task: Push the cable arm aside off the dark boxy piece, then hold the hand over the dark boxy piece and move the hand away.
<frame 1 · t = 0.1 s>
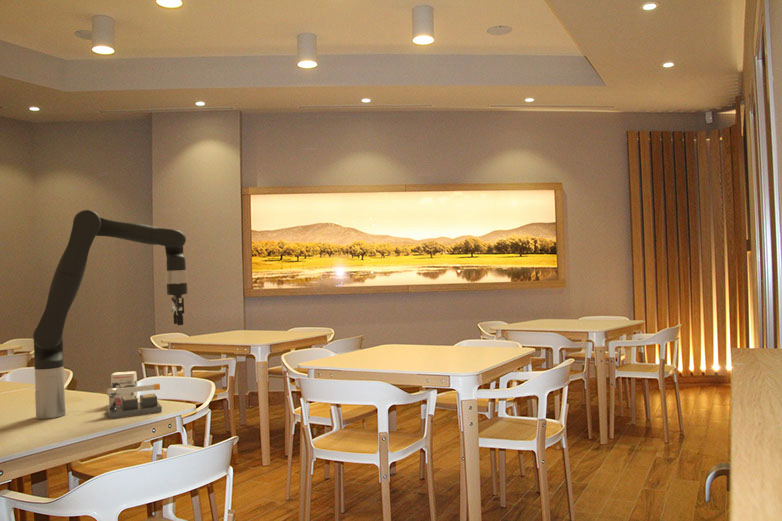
hand: (178, 324, 258), 29 cm above the table, fingers open, 8 cm apart
ink box: (124, 404, 256), on the table
cable arm: (133, 389, 238), point 8 cm above the table, hinge at 0.0°
dark boxy piece: (134, 411, 238), on the table
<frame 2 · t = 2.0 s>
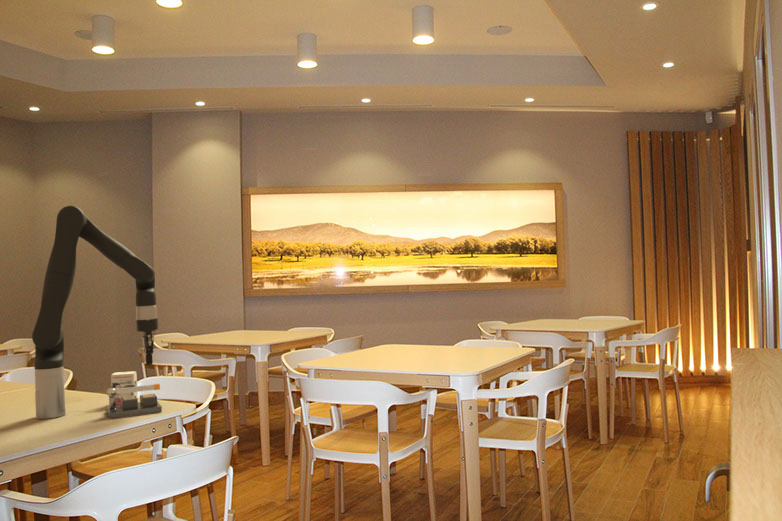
hand: (149, 364, 248), 15 cm above the table, fingers closed
nothing on the table moved.
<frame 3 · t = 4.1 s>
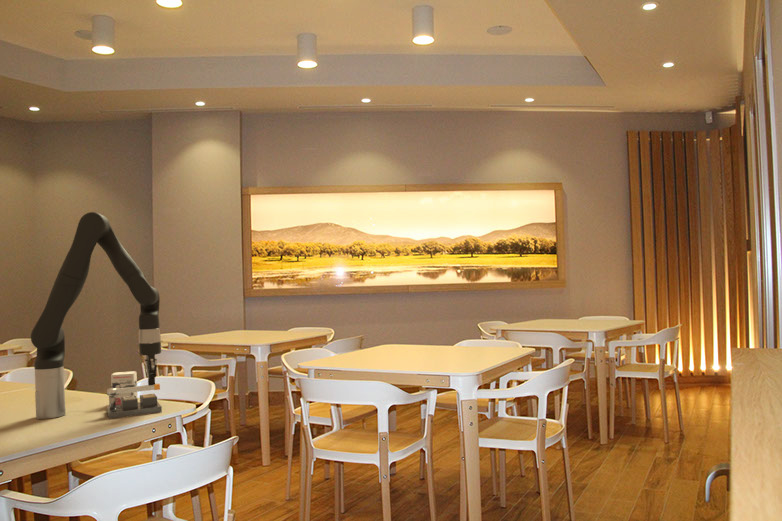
hand: (151, 388, 244), 7 cm above the table, fingers closed
cable arm: (133, 389, 238), point 8 cm above the table, hinge at -0.2°, touching gripper
everything else where it was.
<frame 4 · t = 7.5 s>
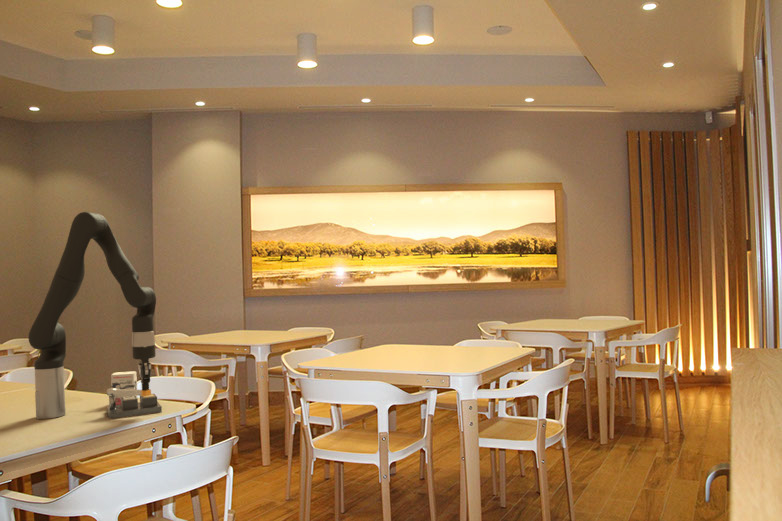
hand: (145, 394, 233), 7 cm above the table, fingers closed
cable arm: (128, 392, 233), point 8 cm above the table, hinge at -46.8°, touching gripper
everything else where it was.
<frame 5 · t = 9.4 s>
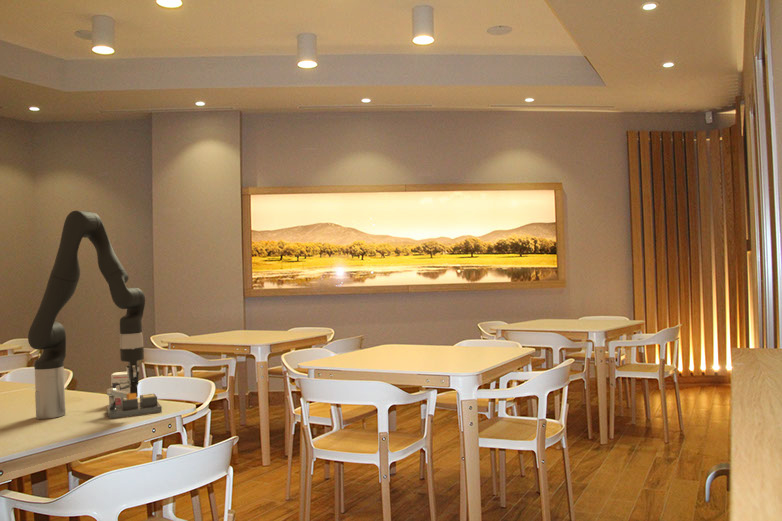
hand: (134, 397, 229), 7 cm above the table, fingers closed
cable arm: (121, 393, 230), point 8 cm above the table, hinge at -69.7°, touching gripper
everything else where it was.
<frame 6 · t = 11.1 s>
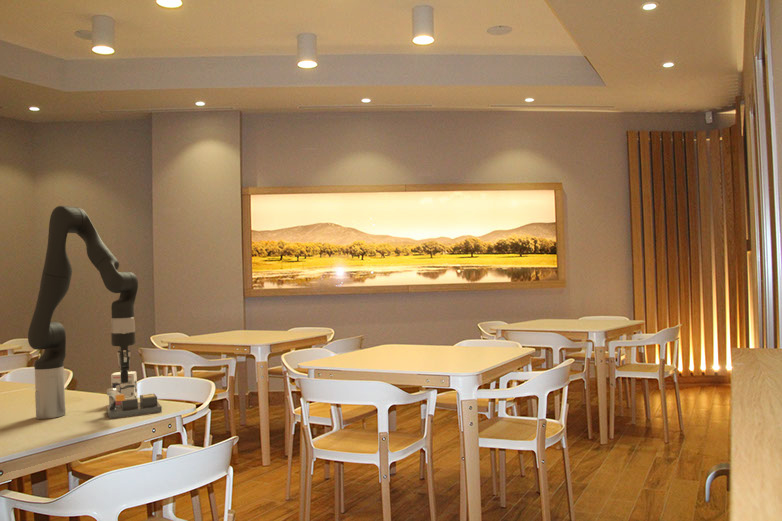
hand: (124, 382, 226), 13 cm above the table, fingers closed
cable arm: (115, 394, 229), point 8 cm above the table, hinge at -84.0°
everything else where it was.
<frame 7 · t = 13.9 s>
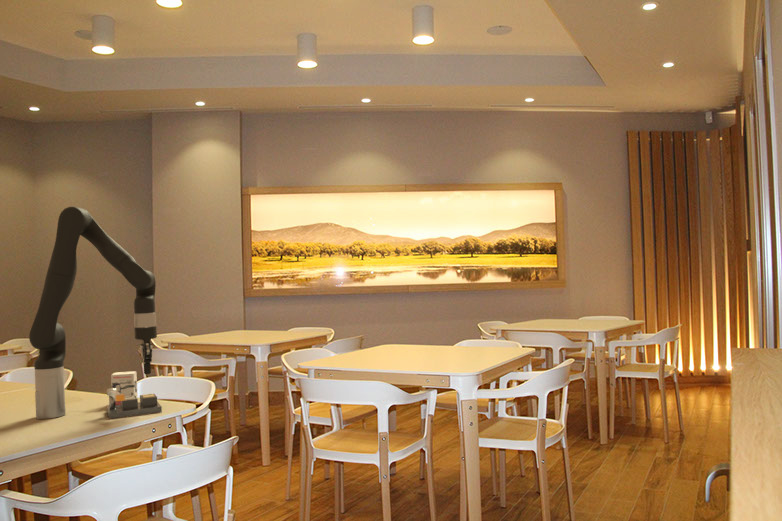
hand: (147, 373, 241), 13 cm above the table, fingers closed
nothing on the table moved.
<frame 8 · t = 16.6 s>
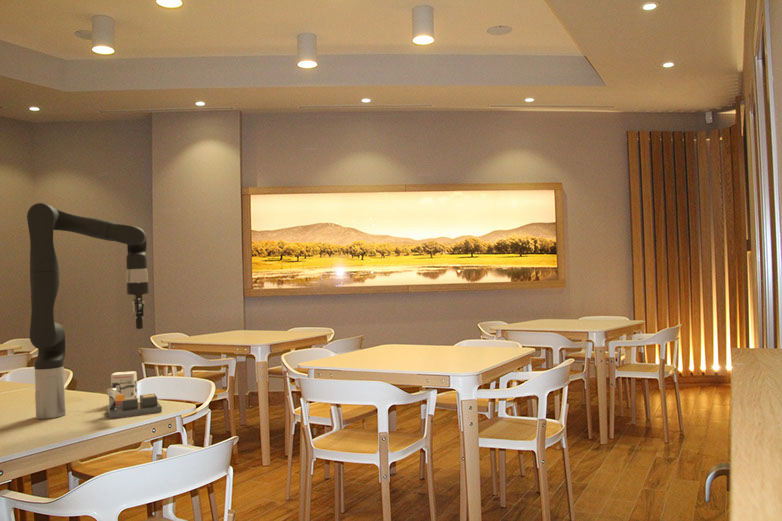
hand: (139, 328, 246), 29 cm above the table, fingers closed
nothing on the table moved.
at the end: cable arm at -84° (first picture: +0°); ink box moved 0.2 cm from its start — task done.
